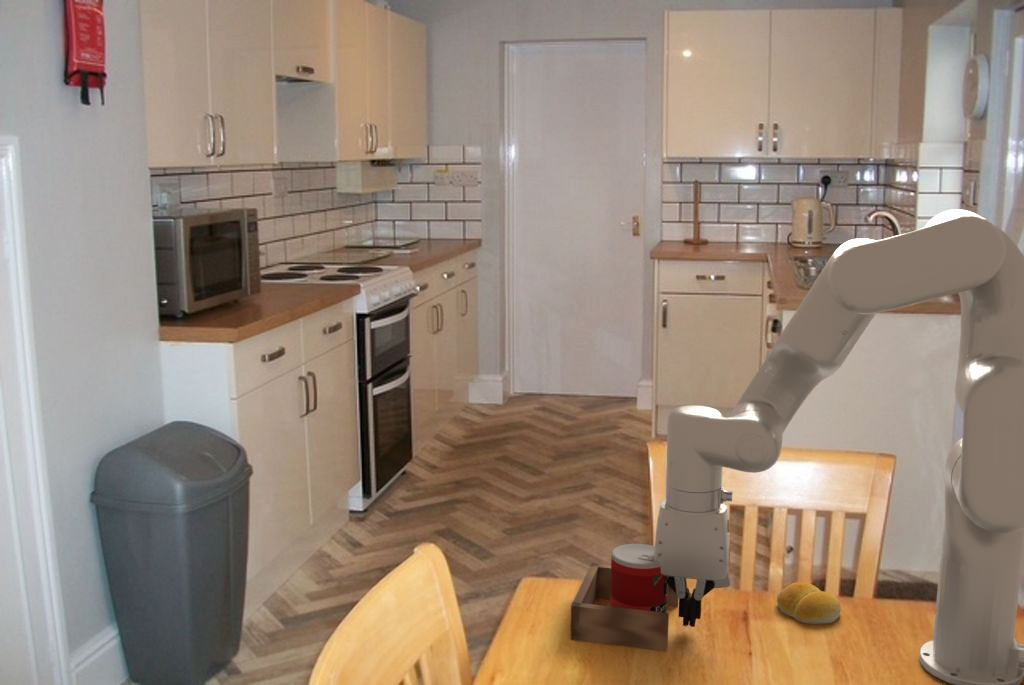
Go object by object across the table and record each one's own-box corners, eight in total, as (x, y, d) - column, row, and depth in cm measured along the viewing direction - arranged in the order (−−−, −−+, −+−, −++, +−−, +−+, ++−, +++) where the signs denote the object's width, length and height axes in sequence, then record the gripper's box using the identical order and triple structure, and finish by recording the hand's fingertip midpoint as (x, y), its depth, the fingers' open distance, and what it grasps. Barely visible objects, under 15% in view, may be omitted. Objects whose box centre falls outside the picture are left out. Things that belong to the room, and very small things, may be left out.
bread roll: (815, 632, 149) (816, 605, 148) (767, 608, 156) (768, 583, 156) (853, 617, 153) (855, 591, 153) (805, 595, 161) (807, 570, 160)
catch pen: (678, 603, 157) (679, 572, 156) (666, 651, 143) (667, 616, 142) (590, 594, 161) (591, 563, 160) (570, 639, 146) (571, 605, 145)
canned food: (661, 642, 145) (664, 567, 143) (604, 634, 147) (606, 560, 145) (670, 618, 152) (672, 546, 150) (615, 611, 155) (617, 540, 153)
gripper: (750, 492, 146) (745, 616, 149) (642, 484, 149) (639, 605, 153) (748, 510, 139) (743, 640, 142) (634, 501, 142) (632, 628, 146)
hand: (689, 622), depth 148 cm, fingers closed
